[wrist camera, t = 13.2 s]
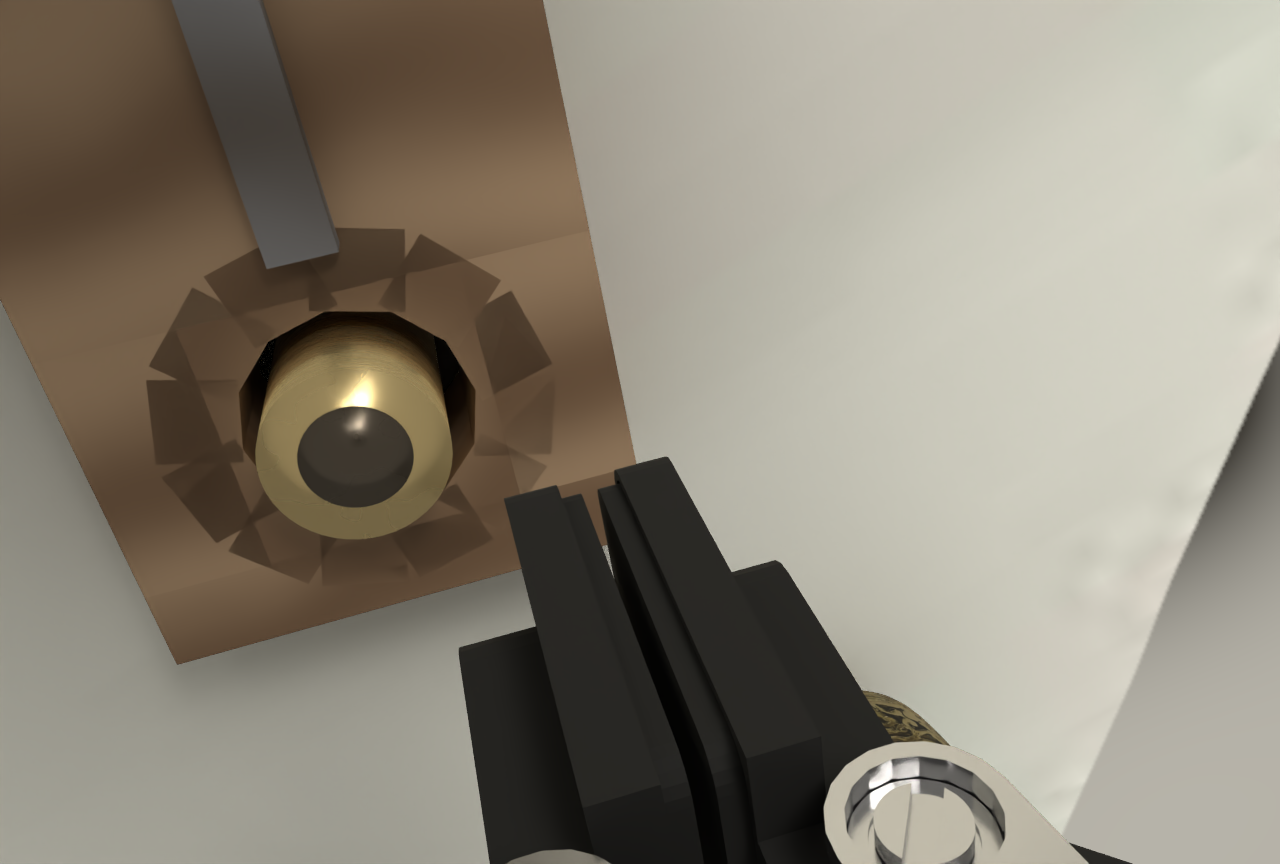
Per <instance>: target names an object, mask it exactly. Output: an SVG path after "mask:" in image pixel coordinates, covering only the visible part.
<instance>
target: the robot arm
mask: <svg viewBox="0 0 1280 864" xmlns="http://www.w3.org/2000/svg"><path fill="white" fill-rule="evenodd" d="M614 479H615V485H611V486H607V487H603V488H599V489H598V491H597V492H598V499H599V505H600V510H601V515H602V520H603V525H604V530H605V535H606V540H607V545H608V550H609V555H610V560H611V565H612V570H613V575H614V578H613V575H612V572H611V570H610V567H609V564H608V562H607V559H606V556H605V554H604V551H603V549H602V546H601V543H600V541H599V538H598V535H597V533H596V530H595V527H594V525H593V522H592V520H591V517H590V514H589V512H588V509H587V506H586V504H585V501H584V498H583V496H582V494H581V493H580V494H576V495H573V496H569V497H565V498H561V495H560V492H559V489H558V487H557V485H554V486H550V487H546V488H542V489H538V490H534V491H530V492H527V493H523V494H519V495H515V496H511V497H507V498H504V502H505V506H506V510H507V514H508V517H509V521H510V525H511V529H512V533H513V537H514V541H515V545H516V549H517V553H518V557H519V561H520V565H521V569H522V573H523V577H524V581H525V584H526V588H527V592H528V596H529V600H530V604H531V608H532V612H533V616H534V620H535V624H536V627H532V628H528V629H525V630H521V631H518V632H514V633H510V634H507V635H503V636H500V637H496V638H492V639H489V640H485V641H481V642H478V643H474V644H471V645H467V646H463V647H460V648H459V659H460V667H461V673H462V680H463V687H464V693H465V700H466V707H467V714H468V720H469V727H470V734H471V740H472V747H473V754H474V760H475V767H476V774H477V780H478V787H479V794H480V800H481V807H482V814H483V820H484V827H485V834H486V841H487V847H488V854H489V861H490V864H1132V863H1129V862H1126V861H1123V860H1120V859H1117V858H1114V857H1110V856H1108V855H1105V854H1101V853H1098V852H1095V851H1092V850H1089V849H1086V848H1083V847H1080V846H1077V845H1074V844H1071V843H1068V842H1067V841H1066V839H1064V837H1063V836H1062V835H1061V834H1060V833H1059V832H1058V831H1057V830H1056V829H1055V828H1054V827H1053V826H1052V825H1051V824H1050V823H1049V822H1048V821H1047V820H1046V819H1045V818H1044V817H1043V816H1042V815H1041V814H1040V813H1039V812H1038V810H1037V809H1036V808H1035V807H1034V806H1033V805H1032V804H1031V803H1030V802H1029V801H1028V800H1027V799H1026V798H1025V797H1024V796H1023V795H1022V794H1021V793H1020V792H1019V791H1018V790H1017V789H1016V788H1015V787H1014V786H1013V785H1012V784H1011V783H1010V781H1009V780H1008V779H1007V778H1006V777H1004V776H1003V775H1002V774H1001V773H999V772H998V771H997V770H996V769H994V768H993V767H992V766H990V765H989V764H988V763H987V762H985V761H984V760H983V759H981V758H979V757H976V756H974V755H972V754H970V753H967V752H965V751H963V750H961V749H958V748H956V747H953V746H947V745H942V744H937V743H931V742H926V741H920V742H898V743H894V741H893V740H892V738H891V736H890V735H889V733H888V732H887V730H886V728H885V727H884V725H883V724H882V722H881V720H880V719H879V717H878V716H877V714H876V712H875V711H874V709H873V708H872V706H871V704H870V703H869V701H868V700H867V698H866V696H865V695H864V693H863V692H862V690H861V688H860V687H859V685H858V684H857V682H856V680H855V679H854V677H853V676H852V674H851V672H850V671H849V669H848V668H847V666H846V664H845V663H844V661H843V660H842V658H841V656H840V655H839V653H838V652H837V650H836V648H835V647H834V645H833V644H832V642H831V640H830V639H829V637H828V636H827V634H826V632H825V631H824V629H823V628H822V626H821V624H820V623H819V621H818V620H817V618H816V616H815V615H814V613H813V612H812V610H811V608H810V607H809V605H808V604H807V602H806V600H805V599H804V597H803V596H802V594H801V592H800V591H799V589H798V588H797V586H796V584H795V583H794V581H793V580H792V578H791V576H790V575H789V573H788V572H787V570H786V569H785V568H784V567H783V565H782V564H781V563H780V562H778V561H776V560H774V561H771V562H767V563H764V564H760V565H756V566H753V567H749V568H746V569H742V570H738V571H735V572H731V570H730V569H729V567H728V565H727V563H726V561H725V559H724V558H723V556H722V554H721V552H720V550H719V548H718V547H717V545H716V543H715V541H714V539H713V538H712V536H711V534H710V532H709V530H708V528H707V527H706V525H705V523H704V521H703V519H702V517H701V516H700V514H699V512H698V510H697V508H696V506H695V505H694V503H693V501H692V499H691V497H690V495H689V494H688V492H687V490H686V488H685V486H684V484H683V483H682V481H681V479H680V477H679V475H678V473H677V472H676V470H675V468H674V466H673V464H672V462H671V461H670V459H669V458H668V457H662V458H658V459H654V460H650V461H646V462H643V463H639V464H635V465H631V466H627V467H623V468H619V469H615V470H614Z"/></svg>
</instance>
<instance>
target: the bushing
mask: <svg viewBox="0 0 1280 864" xmlns="http://www.w3.org/2000/svg"><path fill="white" fill-rule="evenodd" d="M255 455H256V467H257V472H258V476H259V479H260V482H261V484H262V486H263V488H264V490H265V492H266V494H267V495H268V497H269V498H270V500H271V501H272V503H273V504H274V505H275V506H276V507H277V508H278V509H279V510H280V511H281V512H282V513H283V514H284V515H285V516H286V517H288V518H289V519H290V520H292V521H293V522H295V523H296V524H298V525H299V526H301V527H303V528H306V529H308V530H310V531H312V532H315V533H318V534H321V535H324V536H328V537H333V538H340V539H368V538H374V537H379V536H383V535H386V534H389V533H392V532H395V531H397V530H400V529H402V528H404V527H406V526H408V525H409V524H411V523H413V522H414V521H416V520H417V519H418V518H420V517H421V516H422V515H423V514H425V513H426V512H427V511H428V510H429V509H430V508H431V507H432V506H433V504H434V503H435V502H436V500H437V499H438V498H439V496H440V495H441V493H442V491H443V490H444V488H445V486H446V483H447V481H448V478H449V475H450V471H451V467H452V457H453V451H452V441H451V435H450V429H449V423H448V417H447V411H446V405H445V400H444V394H443V388H442V382H441V376H440V370H439V364H438V359H437V353H436V347H435V341H434V336H433V334H431V333H430V332H428V331H426V330H424V329H422V328H420V327H418V326H417V325H415V324H413V323H411V322H409V321H407V320H405V319H403V318H402V317H400V316H398V315H396V314H394V313H392V312H367V311H324V312H323V313H321V314H319V315H317V316H315V317H313V318H311V319H310V320H308V321H306V322H304V323H302V324H300V325H298V326H296V327H295V328H293V329H291V330H289V331H287V332H285V333H283V334H281V335H280V336H278V337H276V342H275V348H274V353H273V358H272V363H271V368H270V374H269V379H268V384H267V389H266V395H265V400H264V405H263V410H262V415H261V421H260V426H259V431H258V436H257V443H256V449H255Z"/></svg>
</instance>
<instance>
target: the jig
mask: <svg viewBox="0 0 1280 864" xmlns="http://www.w3.org/2000/svg"><path fill="white" fill-rule="evenodd" d="M0 300H1V302H2V304H3V306H4V308H5V310H6V312H7V314H8V317H9V319H10V321H11V323H12V325H13V327H14V329H15V331H16V333H17V335H18V337H19V339H20V341H21V343H22V345H23V347H24V350H25V352H26V354H27V356H28V358H29V360H30V362H31V364H32V366H33V368H34V370H35V372H36V374H37V376H38V378H39V381H40V383H41V385H42V387H43V389H44V391H45V393H46V395H47V397H48V399H49V401H50V403H51V405H52V407H53V409H54V412H55V414H56V416H57V418H58V420H59V422H60V424H61V426H62V428H63V430H64V432H65V434H66V436H67V438H68V440H69V442H70V445H71V447H72V449H73V451H74V453H75V455H76V457H77V459H78V461H79V463H80V465H81V467H82V469H83V471H84V473H85V476H86V478H87V480H88V482H89V484H90V486H91V488H92V490H93V492H94V494H95V496H96V498H97V500H98V502H99V504H100V507H101V509H102V511H103V513H104V515H105V517H106V519H107V521H108V523H109V525H110V527H111V529H112V531H113V533H114V535H115V538H116V540H117V542H118V544H119V546H120V548H121V550H122V552H123V554H124V556H125V558H126V560H127V562H128V564H129V566H130V568H131V571H132V573H133V575H134V577H135V579H136V581H137V583H138V585H139V587H140V589H141V591H142V593H143V595H144V597H145V599H146V602H147V604H148V606H149V608H150V610H151V612H152V614H153V616H154V618H155V620H156V622H157V624H158V626H159V628H160V630H161V633H162V635H163V637H164V639H165V641H166V643H167V645H168V647H169V649H170V651H171V653H172V655H173V657H174V659H175V661H176V663H177V665H178V664H182V663H185V662H189V661H192V660H196V659H200V658H203V657H207V656H210V655H214V654H217V653H221V652H225V651H228V650H232V649H235V648H239V647H243V646H246V645H250V644H253V643H257V642H260V641H264V640H268V639H271V638H275V637H278V636H282V635H285V634H289V633H293V632H296V631H300V630H303V629H307V628H311V627H314V626H318V625H321V624H325V623H328V622H332V621H336V620H339V619H343V618H346V617H350V616H354V615H357V614H361V613H364V612H368V611H371V610H375V609H379V608H382V607H386V606H389V605H393V604H396V603H400V602H404V601H407V600H411V599H414V598H418V597H422V596H425V595H429V594H432V593H436V592H439V591H443V590H447V589H450V588H454V587H457V586H461V585H464V584H468V583H472V582H475V581H479V580H482V579H486V578H490V577H493V576H497V575H500V574H504V573H507V572H511V571H515V570H518V569H521V565H520V561H519V557H518V553H517V549H516V545H515V541H514V537H513V533H512V529H511V525H510V521H509V517H508V514H507V510H506V506H505V502H504V498H507V497H511V496H515V495H519V494H523V493H527V492H530V491H534V490H538V489H542V488H546V487H550V486H554V485H557V487H558V489H559V492H560V495H561V498H565V497H569V496H573V495H576V494H580V493H581V494H582V496H583V498H584V501H585V504H586V506H587V509H588V512H589V514H590V517H591V520H592V522H593V525H594V527H595V530H596V533H597V535H598V538H599V541H600V543H601V546H604V545H607V540H606V535H605V530H604V525H603V520H602V515H601V510H600V505H599V499H598V492H597V491H598V489H599V488H603V487H607V486H611V485H615V479H614V470H615V469H619V468H623V467H627V466H631V465H635V464H636V460H635V455H634V450H633V445H632V440H631V436H630V431H629V426H628V421H627V416H626V411H625V406H624V401H623V396H622V391H621V386H620V381H619V376H618V371H617V366H616V361H615V356H614V351H613V346H612V341H611V336H610V331H609V326H608V322H607V317H606V312H605V307H604V302H603V297H602V292H601V287H600V282H599V277H598V272H597V267H596V262H595V257H594V252H593V247H592V242H591V237H590V232H589V227H588V222H587V217H586V212H585V208H584V203H583V198H582V193H581V188H580V183H579V178H578V173H577V168H576V163H575V158H574V153H573V148H572V143H571V138H570V133H569V128H568V123H567V118H566V113H565V108H564V103H563V98H562V94H561V89H560V84H559V79H558V74H557V69H556V64H555V59H554V54H553V49H552V44H551V39H550V34H549V29H548V24H547V19H546V14H545V9H544V4H543V0H0ZM324 311H367V312H392V313H394V314H396V315H398V316H400V317H402V318H403V319H405V320H407V321H409V322H411V323H413V324H415V325H417V326H418V327H420V328H422V329H424V330H426V331H428V332H430V333H431V334H433V335H435V336H437V337H439V338H441V339H443V340H445V341H446V342H447V344H448V346H449V347H450V349H451V351H452V352H453V354H454V355H455V357H456V359H457V360H458V362H459V371H458V373H457V374H456V376H455V378H454V379H453V381H452V382H451V384H450V385H449V387H448V389H447V390H446V392H445V393H444V400H445V405H446V411H447V417H448V423H449V429H450V435H451V441H452V451H453V457H452V467H451V471H450V475H449V478H448V481H447V483H446V486H445V488H444V490H443V491H442V493H441V495H440V496H439V498H438V499H437V500H436V502H435V503H434V504H433V506H432V507H431V508H430V509H429V510H428V511H427V512H426V513H425V514H423V515H422V516H421V517H420V518H418V519H417V520H416V521H414V522H413V523H411V524H409V525H408V526H406V527H404V528H402V529H400V530H397V531H395V532H392V533H389V534H386V535H383V536H379V537H374V538H368V539H340V538H333V537H328V536H324V535H321V534H318V533H315V532H312V531H310V530H308V529H306V528H303V527H301V526H299V525H298V524H296V523H295V522H293V521H292V520H290V519H289V518H288V517H286V516H285V515H284V514H283V513H282V512H281V511H280V510H279V509H278V508H277V507H276V506H275V505H274V504H273V503H272V501H271V500H270V498H269V497H268V495H267V494H266V492H265V490H264V488H263V486H262V484H261V482H260V479H259V476H258V472H257V467H256V455H255V449H256V443H257V436H258V431H259V426H260V421H261V415H262V410H263V405H264V400H265V395H266V389H267V384H268V383H267V381H266V380H265V379H264V377H263V376H262V375H261V373H260V367H259V357H260V355H261V353H262V352H263V350H264V348H265V346H266V345H267V343H268V341H270V340H272V339H274V338H276V337H278V336H280V335H281V334H283V333H285V332H287V331H289V330H291V329H293V328H295V327H296V326H298V325H300V324H302V323H304V322H306V321H308V320H310V319H311V318H313V317H315V316H317V315H319V314H321V313H323V312H324Z"/></svg>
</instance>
